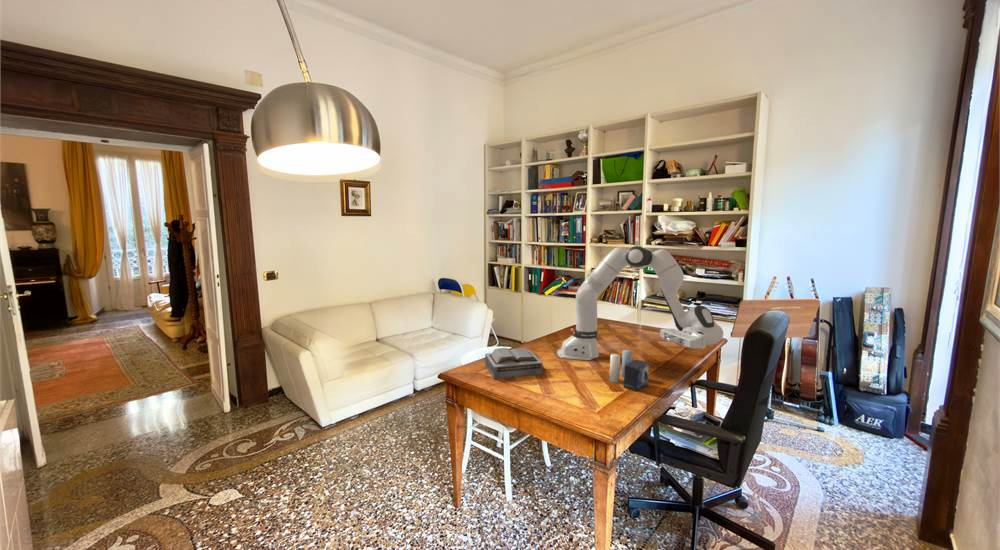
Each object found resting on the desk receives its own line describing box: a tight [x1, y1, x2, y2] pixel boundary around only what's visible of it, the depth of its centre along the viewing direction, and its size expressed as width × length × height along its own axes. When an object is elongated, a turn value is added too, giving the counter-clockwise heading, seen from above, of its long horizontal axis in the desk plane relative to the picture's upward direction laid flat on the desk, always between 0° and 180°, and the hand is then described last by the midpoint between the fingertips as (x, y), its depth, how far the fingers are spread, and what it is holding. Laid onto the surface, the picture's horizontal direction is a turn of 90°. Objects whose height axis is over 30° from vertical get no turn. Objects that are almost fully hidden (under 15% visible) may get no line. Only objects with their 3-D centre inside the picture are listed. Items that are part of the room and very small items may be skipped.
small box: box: [623, 359, 650, 392], centre depth 175 cm, size 11×6×10 cm, turn 131°
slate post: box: [621, 349, 633, 378], centre depth 187 cm, size 4×4×12 cm
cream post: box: [609, 353, 621, 384], centre depth 182 cm, size 4×4×12 cm
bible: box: [484, 347, 544, 380], centre depth 196 cm, size 23×27×10 cm
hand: (665, 339), depth 178 cm, fingers closed
